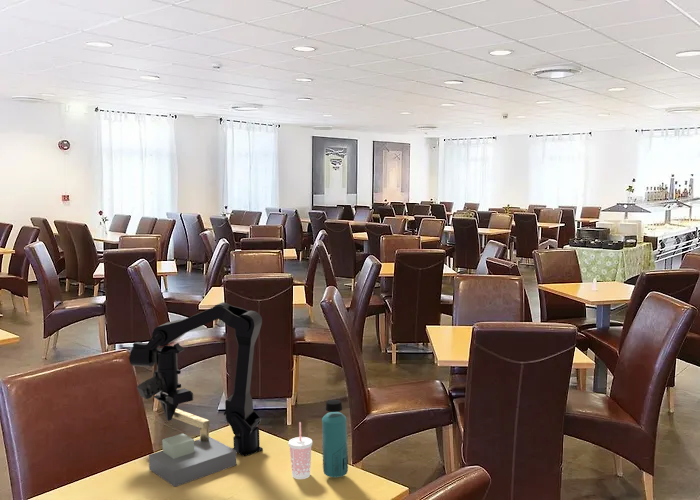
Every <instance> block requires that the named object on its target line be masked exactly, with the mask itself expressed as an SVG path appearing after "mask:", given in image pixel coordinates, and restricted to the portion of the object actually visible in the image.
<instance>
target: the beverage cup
mask: <svg viewBox="0 0 700 500" xmlns="http://www.w3.org/2000/svg"><path fill="white" fill-rule="evenodd" d="M298 429H299V431H298V434H299V436H297V437H293V438H290V439H289V440H288V447H289V452H290V453H289V454H290V463H291V476H292V478H294V479H296V480H305V479H308V478H309V477H310V476H311V465H312V464H311V463H312V461H311V460H312V446H313V440H312V438H310V437H306V436H302V422H301V421H299V422H298Z"/></svg>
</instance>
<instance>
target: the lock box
mask: <svg viewBox="0 0 700 500" xmlns="http://www.w3.org/2000/svg"><path fill="white" fill-rule="evenodd" d="M232 448H233V447H230V446H228V445H226V444H225V443H223V442H220V441H219V440H217V439H215V438H213V437H211V436H209V440H208V441H200V438H199V439H195V440H194V452H193V453H190V454H187V455H184V456H181V457H178V458H175V459H173V458H171V457H170V456H168V455H167V454H165V453H163V450H160V451H157V452H154V453H151V454H148V470H149V471H151V472H152V473H154V474H155V475H157V476H158V477H159V478H160V479H162V480H164V481H166V482H167V483H168V484H170V485H171V486H172V487H178V486H182V485H184V484H187V483H190V482H193V481H195V480H198V479H201V478H205V477H207V476H209V475H213V474H216V473H218V472H221V471H223V470H227V469H229V468H232V467H235V466H237V453H236V450H234V449H232Z"/></svg>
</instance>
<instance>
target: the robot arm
mask: <svg viewBox="0 0 700 500" xmlns="http://www.w3.org/2000/svg"><path fill="white" fill-rule="evenodd" d="M216 320H219V321H221V322H223V323H224V324H225V325H227V326H228V327H229V328H231V329H234V336H235V338H236V342H237V355H236V365H235V375H234V384H233V385H234V387H233V394H232V395H230V396H229V397H228V398H226V400H225V403H224V404H225V405H224V408H225V410H224V413H223V415H224V416H225V421H226V423H228V425H229V426H230V428H231V431H232V433H233V435H234V436H232V437H233V447H231V448H232V449H234V450H236V454H239V455H240V456H242V457H247V456H251V455H253V454H256V453H259V452H261V451H263V450H264V448H263V447H262V446H261V445H260V443H261V442H260V427H259V425H260V424H261V420H262V417H261V416H260V415H259V414H258V413H257V411H256V410H254V401H253V398H252V395H251V386H252V385H251V384H252V373H253V362H254V354H255V345H256V341H257V339H258V337H259V334H260V331H261V327H262V325H263V318H262V316H261V315H260V313H259V312H257V311H255V310H247V309H245V308H243V307H238V306H234V305H233V304H232V305H231V304H229V303H227V302H220V303H218V304H215V305H214V306H213V307H210V308H208V309H206V310H204V311H201V312H198V313H196V314H194V315H192V316H190V317H187V318H185V319H178V320H173V321H172V320H171V321H168V322H166V323H165V322H164V323H163V324H161V325H158V326H156V327H155V328H153V330H152V336H151V337H150V339H149V341H148V342H141V341H136V342H133V343H132V348H131V350H130V353H129V356H128V360H129V364H130V365H131V366H133V367H148V368H149V367H151V368H152V367H153V366H155V364H156V370H154V371H153V372H152V374H153V376H152V377H150V378H148V379H146V380H145V381H143V382H141V383H140V384H138V385H137V386H136V388H137V391H138V393H139V396H140V397H141V398H144V399H145V400H149V399H151V398H154V399H155V400H157V401H159V403H160V404H161V406H162V410H163V412H164V416H165V418H166V421H172V419H173V418H172V417H173V415H174V413H175V410H176V409H178V406H179V405H180V404H183V403H185V404H186V403H189V402H192V401H194V393H193V392H192V391H191V390H189V389H187V388H182V384H181V383H179V375H181V372H182V371H181V369H178V367H179V366H178V354H180V353H181V352H183V351H185V348H184V347H183V346H182V345H180V343H179V342H177V343H175V344H173V345H170V344H171V343H173V342H175V341H177V340H179V339H180V338H181V337H183V336H184V335H185V334H187V333H189V332H190V331H193V330H196V329H197V328H200V327H202V326H204V325H207V324H209V323H212V322H214V321H216Z"/></svg>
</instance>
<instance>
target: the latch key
mask: <svg viewBox="0 0 700 500" xmlns="http://www.w3.org/2000/svg"><path fill="white" fill-rule="evenodd" d="M172 419H175V420H178V421H180V422H183V423H185V424H187V425H191V426H193V427H197V428H199V439H200V441H208V440H209V437H210V420H209V419H207V418H204V417H201V416H198V415H196V414H193V413H190V412H187V411H185V410H182V409H179V408H176V410H175V413H174V415H173V417H172Z"/></svg>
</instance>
